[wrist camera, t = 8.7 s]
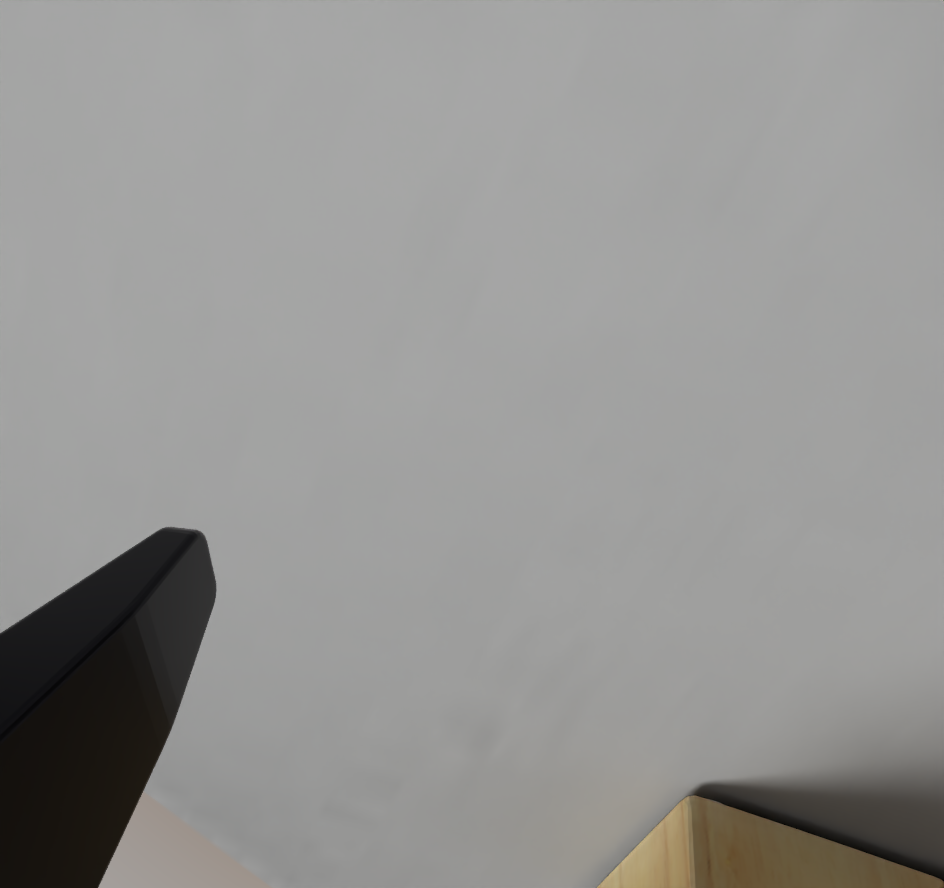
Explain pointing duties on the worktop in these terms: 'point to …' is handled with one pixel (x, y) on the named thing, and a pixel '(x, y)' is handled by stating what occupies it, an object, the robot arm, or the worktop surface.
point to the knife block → (750, 856)
